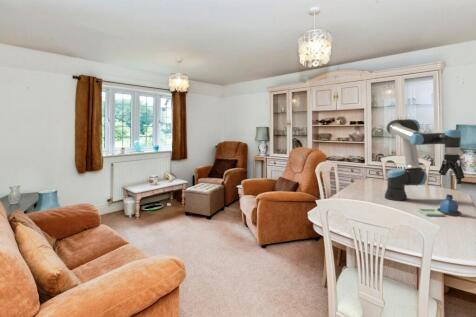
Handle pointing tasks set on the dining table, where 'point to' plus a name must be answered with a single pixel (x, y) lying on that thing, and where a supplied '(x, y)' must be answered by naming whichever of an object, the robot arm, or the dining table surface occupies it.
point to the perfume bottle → (449, 205)
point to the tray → (430, 212)
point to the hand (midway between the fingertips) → (450, 186)
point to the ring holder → (450, 213)
